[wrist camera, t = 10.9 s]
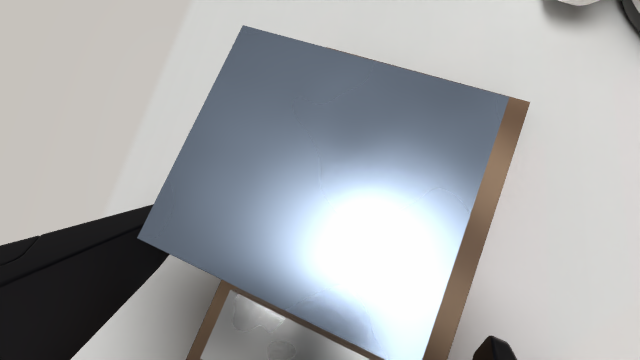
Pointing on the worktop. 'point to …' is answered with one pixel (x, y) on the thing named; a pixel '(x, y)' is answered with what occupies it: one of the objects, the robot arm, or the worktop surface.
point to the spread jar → (636, 4)
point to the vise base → (466, 254)
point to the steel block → (330, 187)
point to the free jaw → (272, 335)
